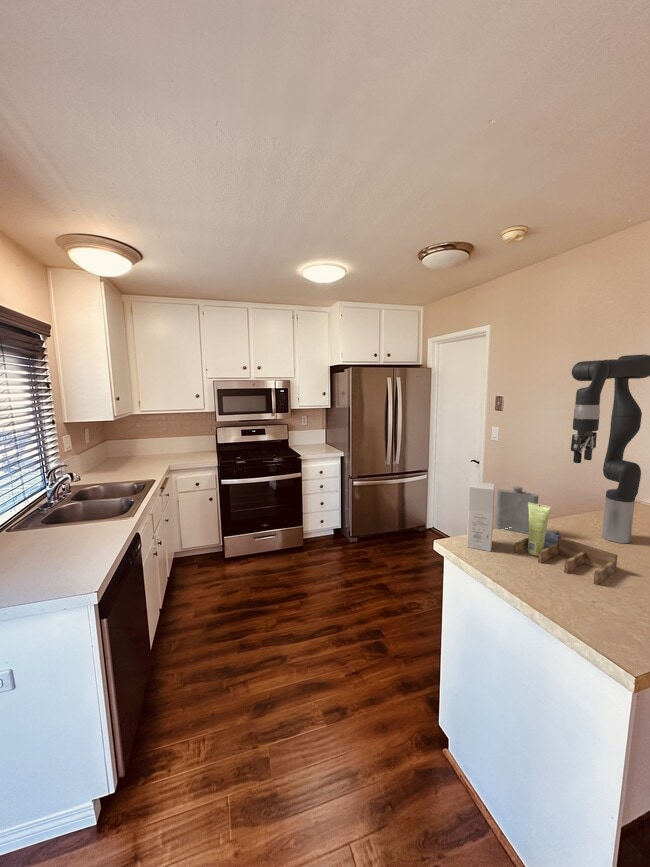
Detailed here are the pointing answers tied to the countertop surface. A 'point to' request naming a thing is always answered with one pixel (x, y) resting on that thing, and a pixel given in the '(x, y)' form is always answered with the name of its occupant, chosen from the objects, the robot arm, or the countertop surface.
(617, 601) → the countertop surface
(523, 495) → the hip flask
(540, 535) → the tube
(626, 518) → the robot arm
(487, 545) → the tall white carton
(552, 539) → the wooden slatted rack
